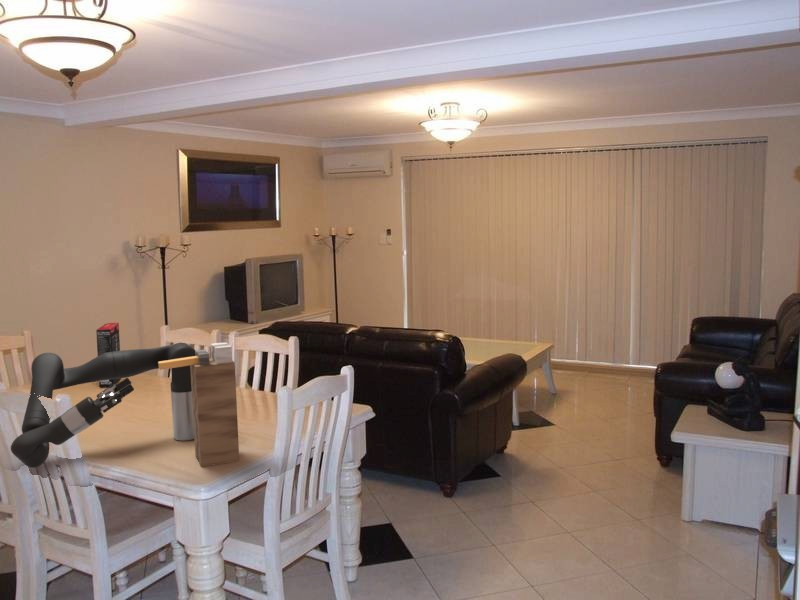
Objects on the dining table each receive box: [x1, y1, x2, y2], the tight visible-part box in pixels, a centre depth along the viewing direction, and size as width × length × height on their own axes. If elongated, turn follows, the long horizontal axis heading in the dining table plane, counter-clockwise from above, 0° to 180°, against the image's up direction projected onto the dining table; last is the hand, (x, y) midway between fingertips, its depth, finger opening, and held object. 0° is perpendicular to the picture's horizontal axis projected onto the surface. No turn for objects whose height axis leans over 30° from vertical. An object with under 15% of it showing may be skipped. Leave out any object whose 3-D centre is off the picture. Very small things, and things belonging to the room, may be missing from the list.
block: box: [158, 356, 199, 371], centre depth 217 cm, size 3×14×2 cm, turn 116°
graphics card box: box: [95, 322, 122, 388], centre depth 322 cm, size 17×7×27 cm, turn 10°
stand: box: [190, 342, 240, 468], centre depth 223 cm, size 10×12×37 cm
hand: (131, 383), depth 211 cm, fingers open, 8 cm apart
